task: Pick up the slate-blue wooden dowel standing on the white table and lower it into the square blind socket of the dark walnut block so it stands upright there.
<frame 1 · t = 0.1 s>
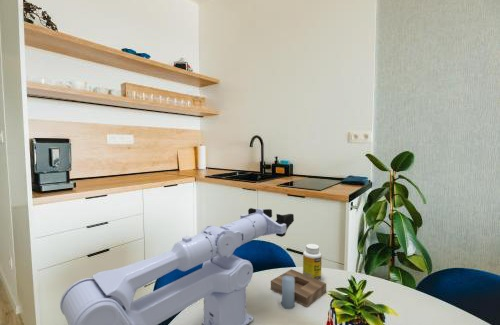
hand: (281, 215, 73), 22 cm above the table, tool horizontal, fingers open, 7 cm apart
dowel: (288, 304, 66), on the table
supplement bottle: (311, 278, 80), on the table
socket block: (298, 290, 73), on the table
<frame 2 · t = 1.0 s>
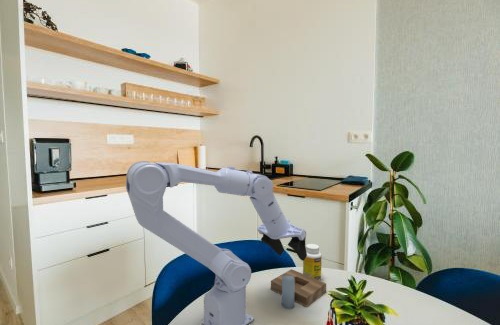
hand: (292, 255, 69), 12 cm above the table, tool tilted 30°, fingers open, 7 cm apart
nothing on the table moved.
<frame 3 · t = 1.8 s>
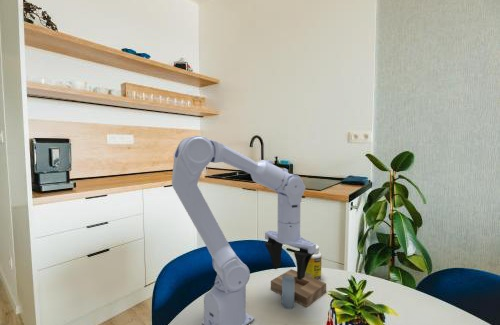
hand: (288, 272, 66), 9 cm above the table, tool pointing down, fingers open, 7 cm apart
nothing on the table moved.
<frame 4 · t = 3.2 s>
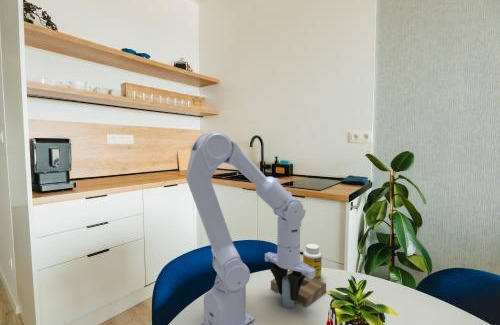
hand: (288, 295, 66), 2 cm above the table, tool pointing down, fingers closed on dowel, 3 cm apart
dowel: (288, 304, 66), on the table, touching gripper
everything else where it was.
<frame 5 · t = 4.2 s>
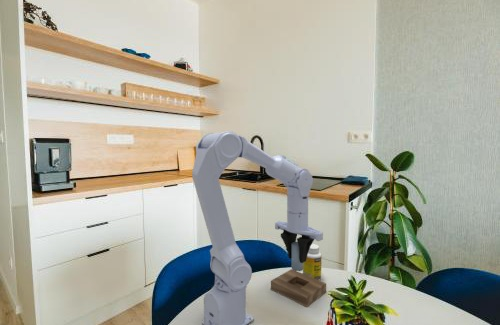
hand: (297, 259, 71), 10 cm above the table, tool pointing down, fingers closed on dowel, 3 cm apart
dowel: (297, 268, 72), point 7 cm above the table, touching gripper
everything else where it was.
when the fingers open (3 cm above the table, at t = 5.6 s): dowel stays where it is, resting on socket block.
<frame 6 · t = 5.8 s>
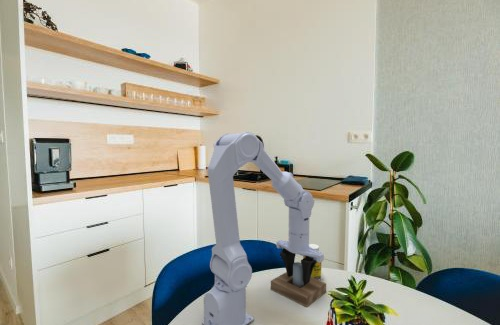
hand: (298, 278, 73), 3 cm above the table, tool pointing down, fingers open, 5 cm apart
dowel: (298, 288, 73), point 1 cm above the table, touching socket block
everything else where it was.
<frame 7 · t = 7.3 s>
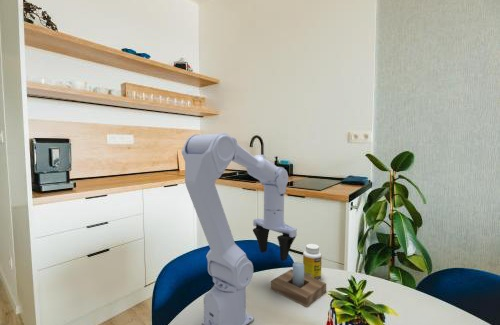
hand: (273, 255, 73), 10 cm above the table, tool pointing down, fingers open, 7 cm apart
nothing on the table moved.
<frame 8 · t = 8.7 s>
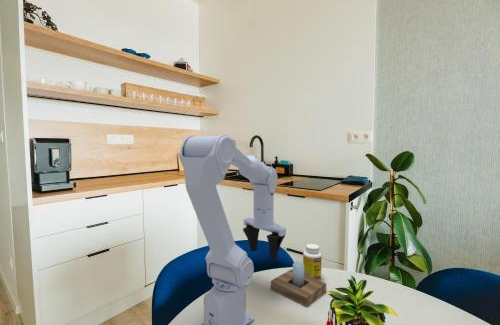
hand: (263, 254, 74), 10 cm above the table, tool pointing down, fingers open, 7 cm apart
nothing on the table moved.
at the end: dowel 0.0 cm off-centre on the socket block, point 0.5 cm above the socket block's base; dowel tilted 0°; the gripper is holding nothing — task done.
